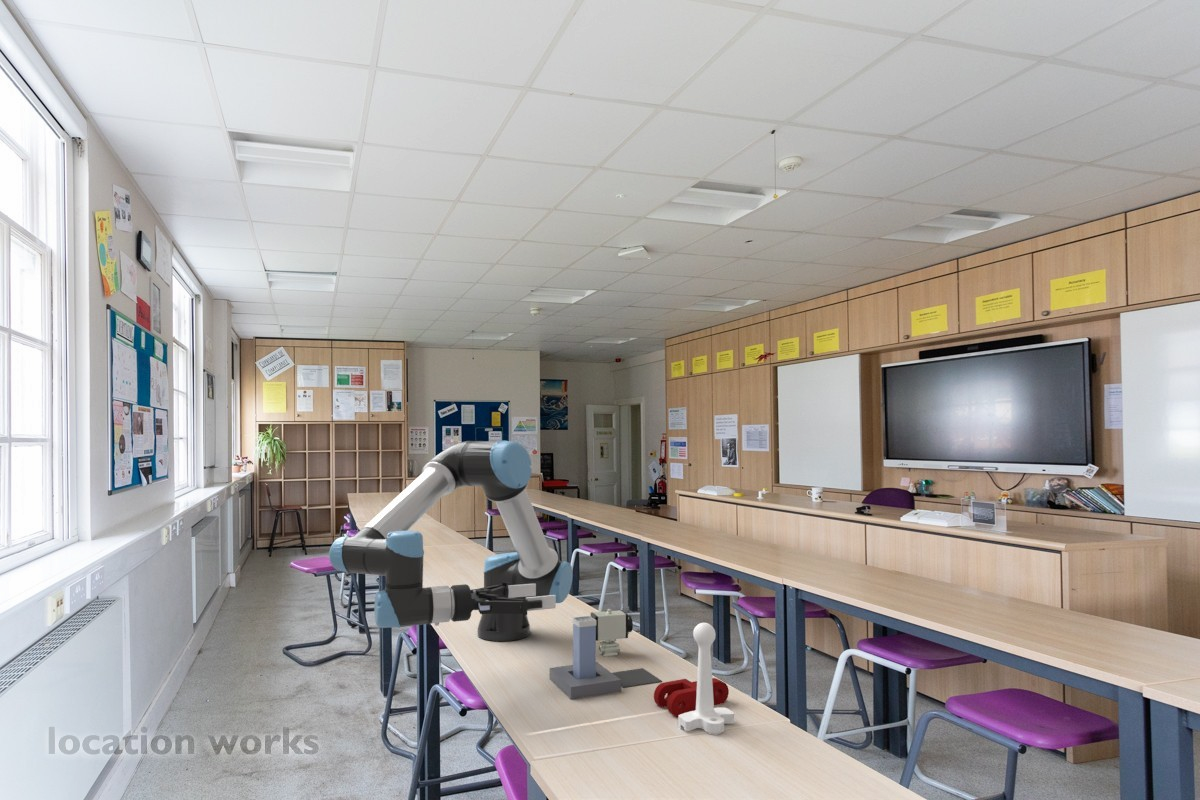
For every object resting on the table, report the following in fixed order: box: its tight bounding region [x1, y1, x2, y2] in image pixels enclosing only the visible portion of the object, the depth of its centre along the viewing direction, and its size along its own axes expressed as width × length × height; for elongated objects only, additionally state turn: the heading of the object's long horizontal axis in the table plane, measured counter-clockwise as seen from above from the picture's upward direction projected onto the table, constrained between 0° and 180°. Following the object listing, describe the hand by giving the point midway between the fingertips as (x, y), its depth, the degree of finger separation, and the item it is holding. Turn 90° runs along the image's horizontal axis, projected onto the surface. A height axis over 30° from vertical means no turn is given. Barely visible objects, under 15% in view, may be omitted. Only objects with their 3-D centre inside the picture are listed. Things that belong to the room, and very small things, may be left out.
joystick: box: [677, 622, 735, 735], centre depth 141 cm, size 11×8×20 cm
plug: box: [572, 615, 597, 679], centre depth 164 cm, size 4×4×15 cm
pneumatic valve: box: [589, 608, 634, 657], centre depth 188 cm, size 6×12×12 cm, turn 107°
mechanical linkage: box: [653, 677, 730, 719], centre depth 152 cm, size 16×7×5 cm, turn 116°
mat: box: [612, 667, 663, 689], centre depth 169 cm, size 10×10×1 cm
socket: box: [549, 661, 622, 700], centre depth 164 cm, size 14×12×3 cm
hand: (545, 595), depth 161 cm, fingers open, 13 cm apart
